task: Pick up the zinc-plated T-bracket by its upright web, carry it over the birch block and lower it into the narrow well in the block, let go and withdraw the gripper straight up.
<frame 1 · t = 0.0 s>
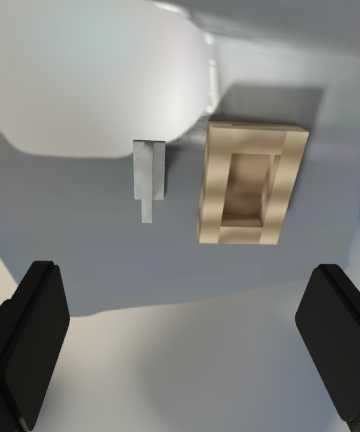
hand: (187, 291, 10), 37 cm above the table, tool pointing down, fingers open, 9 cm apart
t bracket: (149, 170, 47), on the table
well block: (241, 181, 49), on the table
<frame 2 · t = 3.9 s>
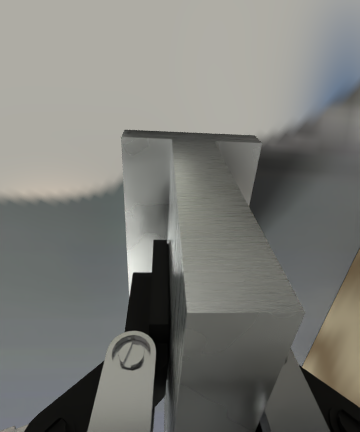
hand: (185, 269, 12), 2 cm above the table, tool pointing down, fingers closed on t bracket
t bracket: (182, 238, 13), on the table, touching gripper
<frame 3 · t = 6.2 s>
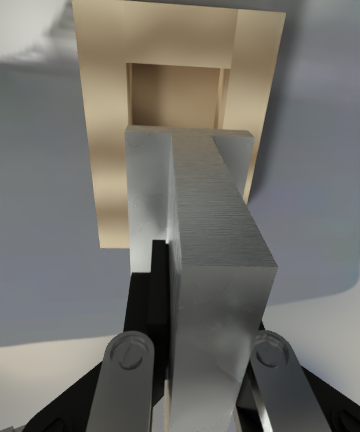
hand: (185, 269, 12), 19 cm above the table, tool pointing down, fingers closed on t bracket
t bracket: (181, 228, 14), point 15 cm above the table, touching gripper
well block: (173, 138, 27), on the table
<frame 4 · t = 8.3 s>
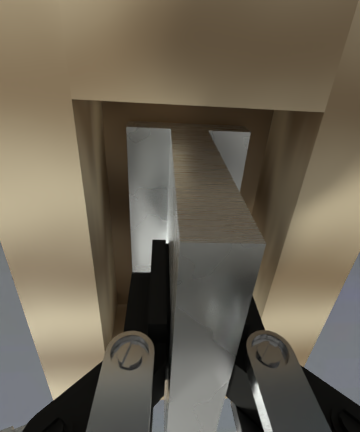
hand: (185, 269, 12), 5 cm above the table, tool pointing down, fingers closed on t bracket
t bracket: (180, 221, 15), point 1 cm above the table, touching gripper
well block: (181, 216, 15), on the table
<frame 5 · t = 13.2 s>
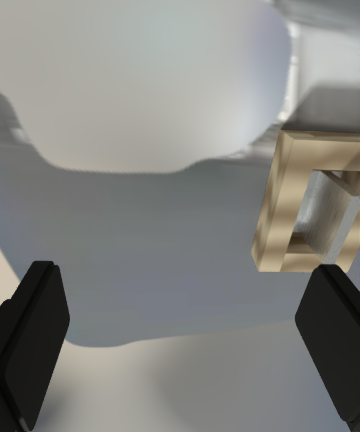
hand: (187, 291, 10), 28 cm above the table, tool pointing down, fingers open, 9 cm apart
t bracket: (310, 200, 41), resting on well block
well block: (309, 200, 42), on the table
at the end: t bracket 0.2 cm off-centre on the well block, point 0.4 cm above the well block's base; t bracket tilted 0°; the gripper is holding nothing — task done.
